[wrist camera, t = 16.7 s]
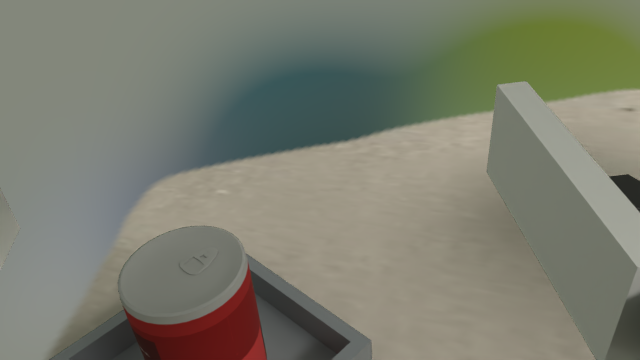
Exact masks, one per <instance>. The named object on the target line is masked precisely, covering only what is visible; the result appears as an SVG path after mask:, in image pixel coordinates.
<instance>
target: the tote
mask: <svg viewBox="0 0 640 360" xmlns="http://www.w3.org/2000/svg"><path fill="white" fill-rule="evenodd" d="M246 256H247V259H248V264H249V269H250V272H251V277H252V282H253V287H254V292H255V297H256V302H257V307H258V312H259V318H260V323H261V328H262V333H263V338H264V343H265V348H266V353H267V360H372V347H371V340H370V339H368V338H367V337H366V336H364V335H363V334H361V333H360V332H358V331H357V330H355V329H354V328H353V327H351V326H350V325H348V324H347V323H345V322H344V321H343V320H341V319H340V318H338V317H337V316H335V315H334V314H332V313H331V312H330V311H328V310H327V309H325V308H324V307H322V306H321V305H320V304H318V303H317V302H315V301H314V300H312V299H311V298H309V297H308V296H307V295H305V294H304V293H302V292H301V291H299V290H298V289H297V288H295V287H294V286H292V285H291V284H289V283H288V282H286V281H285V280H284V279H282V278H281V277H279V276H278V275H276V274H275V273H273V272H272V271H271V270H269V269H268V268H266V267H265V266H263V265H262V264H261V263H259V262H258V261H256V260H255V259H253V258H252V257H250V256H249V255H248V254H246ZM49 360H145V359H144V357H143V354H142V352H141V350H140V347H139V345H138V342H137V340H136V338H135V335H134V333H133V330H132V328H131V326H130V323H129V321H128V319H127V316H126V313H125V311H124V310H122V311H121V312H119V313H118V314H116V315H115V316H113V317H112V318H110V319H109V320H107V321H106V322H104V323H103V324H101V325H100V326H99V327H97V328H96V329H94V330H93V331H91V332H90V333H88V334H87V335H85V336H84V337H82V338H81V339H79V340H78V341H76V342H75V343H73V344H72V345H70V346H69V347H67V348H66V349H64V350H63V351H61V352H60V353H58V354H57V355H55V356H54V357H52V358H51V359H49Z"/></svg>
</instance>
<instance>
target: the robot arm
mask: <svg viewBox="0 0 640 360" xmlns="http://www.w3.org/2000/svg"><path fill="white" fill-rule="evenodd" d="M487 173H488V175H489V177H490V178H491V180H492V182H493V183H494V185H495V187H496V189H497V190H498V192H499V194H500V195H501V197H502V199H503V201H504V202H505V204H506V206H507V207H508V209H509V211H510V213H511V214H512V216H513V218H514V219H515V221H516V223H517V225H518V226H519V228H520V230H521V231H522V233H523V235H524V237H525V238H526V240H527V242H528V243H529V245H530V247H531V249H532V250H533V252H534V254H535V255H536V257H537V259H538V261H539V262H540V264H541V266H542V268H543V269H544V271H545V273H546V274H547V276H548V278H549V280H550V281H551V283H552V285H553V286H554V288H555V290H556V292H557V293H558V295H559V297H560V298H561V300H562V302H563V304H564V305H565V307H566V309H567V310H568V312H569V314H570V316H571V317H572V319H573V321H574V322H575V324H576V326H577V328H578V329H579V331H580V333H581V334H582V336H583V338H584V340H585V341H586V343H587V345H588V347H589V348H590V350H591V352H592V353H593V355H594V357H595V359H596V360H640V181H639V180H637V179H635V178H633V177H632V176H630V175H628V174H627V175H619V176H611V177H609V176H608V175H607V174H606V173H605V172H604V170H603V169H602V168H601V167H600V166H599V165H598V164H597V162H596V161H595V160H594V159H593V158H592V157H591V155H590V154H589V153H588V152H587V151H586V150H585V149H584V147H583V146H582V145H581V144H580V143H579V142H578V140H577V139H576V138H575V137H574V136H573V135H572V134H571V132H570V131H569V130H568V129H567V128H566V127H565V125H564V124H563V123H562V122H561V121H560V120H559V119H558V117H557V116H556V115H555V114H554V113H553V112H552V110H551V109H550V108H549V107H548V106H547V105H546V104H545V102H544V101H543V100H542V99H541V98H540V97H539V96H538V94H537V93H536V92H535V91H534V90H533V89H532V88H531V86H530V85H529V84H528V83H527V82H516V83H508V84H499V85H497V91H496V100H495V107H494V115H493V123H492V132H491V140H490V148H489V156H488V165H487ZM19 230H20V227H19V225H18V223H17V221H16V219H15V217H14V215H13V213H12V211H11V209H10V207H9V205H8V203H7V201H6V199H5V197H4V195H3V193H2V191H1V189H0V270H1V268H2V266H3V264H4V262H5V260H6V257H7V255H8V253H9V251H10V249H11V247H12V245H13V243H14V241H15V239H16V236H17V234H18V232H19Z"/></svg>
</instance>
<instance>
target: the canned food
mask: <svg viewBox="0 0 640 360" xmlns="http://www.w3.org/2000/svg"><path fill="white" fill-rule="evenodd" d="M118 292H119V294H120V300H121V302H122V305H123V308H124V311H125V313H126V316H127V319H128V321H129V323H130V326H131V328H132V330H133V333H134V335H135V338H136V340H137V342H138V345H139V347H140V350H141V352H142V354H143V357H144V359H145V360H267V353H266V348H265V343H264V338H263V333H262V328H261V323H260V318H259V312H258V307H257V302H256V297H255V292H254V287H253V282H252V277H251V272H250V269H249V264H248V259H247V256H246V253H245V251H244V248H243V245H242V244H241V242H240V241H239V239H238V238H237V237H235V236H234V235H233V234H232V233H230V232H228V231H226V230H224V229H220V228H217V227H211V226H190V227H184V228H179V229H176V230H172V231H169V232H167V233H164V234H162V235H159V236H157V237H155V238H154V239H152V240H150V241H148V242H147V243H145V244H144V245H143V246H141V247H140V248H139V249H138V250H137V251H136V252H134V253H133V254H132V255H131V256H130V258H129V259H128V260H127V262H126V263H125V264H124V266H123V268H122V270H121V272H120V275H119V279H118Z"/></svg>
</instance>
